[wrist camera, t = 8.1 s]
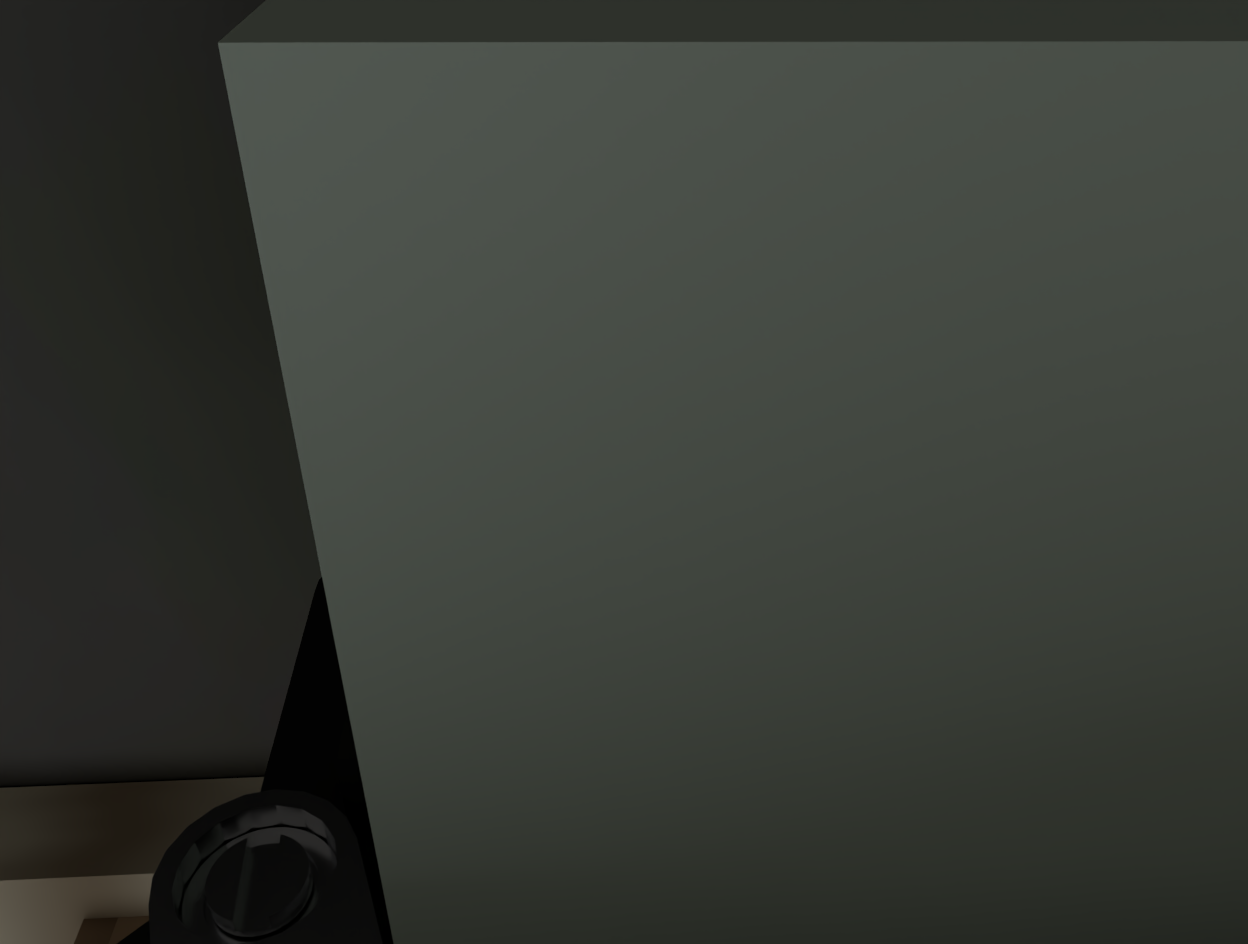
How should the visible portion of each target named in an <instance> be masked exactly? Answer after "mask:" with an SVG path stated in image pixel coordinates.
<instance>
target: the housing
mask: <svg viewBox="0 0 1248 944" xmlns="http://www.w3.org/2000/svg"><path fill="white" fill-rule="evenodd" d="M218 46H219V51H220V56H221V62H222V67H223V72H224V77H225V82H226V87H227V92H228V97H229V103H230V108H231V113H232V118H233V123H234V128H235V133H236V138H237V144H238V149H239V154H240V159H241V164H242V169H243V174H244V179H245V185H246V190H247V195H248V200H249V205H250V210H251V215H252V220H253V226H254V231H255V236H256V241H257V246H258V251H259V256H260V261H261V267H262V272H263V277H264V282H265V287H266V292H267V297H268V302H269V308H270V313H271V318H272V323H273V328H274V333H275V338H276V343H277V349H278V354H279V359H280V364H281V369H282V374H283V379H284V384H285V390H286V395H287V400H288V405H289V410H290V415H291V420H292V425H293V431H294V436H295V441H296V446H297V451H298V456H299V461H300V466H301V472H302V477H303V482H304V487H305V492H306V497H307V502H308V507H309V513H310V518H311V523H312V528H313V533H314V538H315V543H316V549H317V554H318V559H319V564H320V569H321V574H322V579H323V584H324V590H325V595H326V600H327V605H328V610H329V615H330V620H331V625H332V631H333V636H334V641H335V646H336V651H337V656H338V661H339V666H340V672H341V677H342V682H343V687H344V692H345V697H346V702H347V707H348V713H349V718H350V723H351V728H352V733H353V738H354V743H355V748H356V754H357V759H358V764H359V769H360V774H361V779H362V784H363V789H364V795H365V800H366V805H367V810H368V815H369V820H370V825H371V830H372V836H373V841H374V846H375V851H376V856H377V861H378V866H379V871H380V877H381V882H382V887H383V892H384V897H385V902H386V907H387V912H388V918H389V923H390V928H391V933H392V938H393V943H394V944H1248V0H266V1H265V2H264V3H262V4H261V5H260V6H259V7H258V8H257V9H256V10H254V11H253V12H252V13H251V14H250V15H249V16H248V17H246V18H245V19H244V20H243V21H242V22H241V23H240V24H238V25H237V26H236V27H235V28H234V29H233V30H232V31H230V32H229V33H228V34H227V35H226V36H225V37H224V38H222V39H221V40H220V41H219V42H218Z"/></svg>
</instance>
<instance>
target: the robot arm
mask: <svg viewBox="0 0 1248 944" xmlns="http://www.w3.org/2000/svg"><path fill="white" fill-rule="evenodd" d="M148 909H149V921H147V922H146V923H144V924H143V925H142V926H140V927H139V928H137V929H136V930H135V931H133V932H132V933H131V934H129V935H128V936H126V937H125V938H124V939H122V940H121V941H120V942H118V943H117V944H394V943H393V938H392V933H391V928H390V923H389V918H388V912H387V907H386V902H385V897H384V892H383V887H382V882H381V877H380V871H379V866H378V861H377V856H376V851H375V846H374V841H373V836H372V830H371V825H370V820H369V815H368V810H367V805H366V800H365V795H364V789H363V784H362V779H361V774H360V769H359V764H358V759H357V754H356V748H355V743H354V738H353V733H352V728H351V723H350V718H349V713H348V707H347V702H346V697H345V692H344V687H343V682H342V677H341V672H340V666H339V661H338V656H337V651H336V646H335V641H334V636H333V631H332V625H331V620H330V615H329V610H328V605H327V600H326V595H325V590H324V584H323V579H322V577H321V578H320V579H319V582H318V584H317V587H316V590H315V593H314V597H313V600H312V604H311V608H310V611H309V615H308V619H307V622H306V626H305V630H304V633H303V637H302V641H301V644H300V648H299V652H298V655H297V659H296V663H295V666H294V670H293V674H292V677H291V681H290V685H289V688H288V692H287V696H286V699H285V703H284V707H283V710H282V714H281V718H280V721H279V725H278V729H277V732H276V736H275V740H274V743H273V747H272V750H271V754H270V758H269V761H268V765H267V769H266V772H265V776H264V780H263V783H262V787H261V791H260V792H257V793H251V794H246V795H243V796H240V797H238V798H236V799H233V800H231V801H229V802H226V803H224V804H221V805H219V806H217V807H214V808H213V809H212V810H210V811H209V812H207V813H206V814H204V815H203V816H202V817H200V818H199V819H197V820H196V821H194V822H193V823H192V824H190V825H189V826H187V828H186V829H185V830H184V831H183V832H182V833H181V834H180V835H179V836H178V838H177V839H176V840H175V841H174V842H173V843H172V844H171V845H170V846H169V848H168V849H167V850H166V851H165V853H164V855H163V857H162V859H161V861H160V863H159V865H158V867H157V869H156V871H155V873H154V875H153V877H152V883H151V890H150V897H149V904H148Z"/></svg>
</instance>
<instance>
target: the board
mask: <svg viewBox="0 0 1248 944" xmlns="http://www.w3.org/2000/svg"><path fill="white" fill-rule="evenodd" d="M263 780H264V777H250V778H226V779H202V780H178V781H154V782H131V783H107V784H83V785H59V786H35V787H11V788H0V944H117V943H118V942H120V941H121V940H122V939H124V938H125V937H126V936H128V935H129V934H131V933H132V932H133V931H135V930H136V929H137V928H139V927H140V926H142V925H143V924H144V923H146V922H147V921H149V909H148V904H149V897H150V890H151V883H152V877H153V875H154V873H155V871H156V869H157V867H158V865H159V863H160V861H161V859H162V857H163V855H164V853H165V851H166V850H167V849H168V848H169V846H170V845H171V844H172V843H173V842H174V841H175V840H176V839H177V838H178V836H179V835H180V834H181V833H182V832H183V831H184V830H185V829H186V828H187V826H189V825H190V824H192V823H193V822H194V821H196V820H197V819H199V818H200V817H202V816H203V815H204V814H206V813H207V812H209V811H210V810H212V809H213V808H214V807H217V806H219V805H221V804H224V803H226V802H229V801H231V800H233V799H236V798H238V797H240V796H243V795H246V794H251V793H257V792H260V791H261V787H262V783H263Z"/></svg>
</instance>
